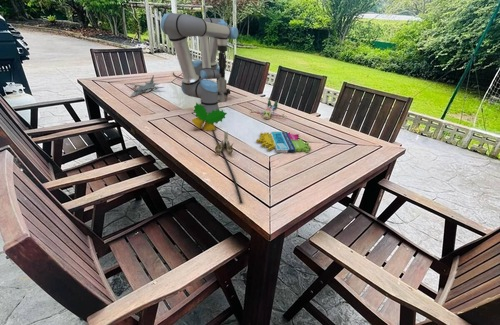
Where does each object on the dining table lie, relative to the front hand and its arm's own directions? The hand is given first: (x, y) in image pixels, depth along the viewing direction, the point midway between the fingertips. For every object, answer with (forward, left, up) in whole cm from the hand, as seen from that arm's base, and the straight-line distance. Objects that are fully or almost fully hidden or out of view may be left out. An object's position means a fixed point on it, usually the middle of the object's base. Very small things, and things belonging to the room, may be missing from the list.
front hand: (222, 76), depth 210 cm
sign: (-87, -20, -20) cm, 91 cm away
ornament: (-60, +19, -20) cm, 66 cm away
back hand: (-5, +1, -13) cm, 14 cm away
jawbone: (-93, +15, -20) cm, 96 cm away
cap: (0, 0, +2) cm, 2 cm away
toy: (-36, -30, -20) cm, 51 cm away
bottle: (0, 0, -20) cm, 20 cm away
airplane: (+31, +62, -20) cm, 72 cm away
